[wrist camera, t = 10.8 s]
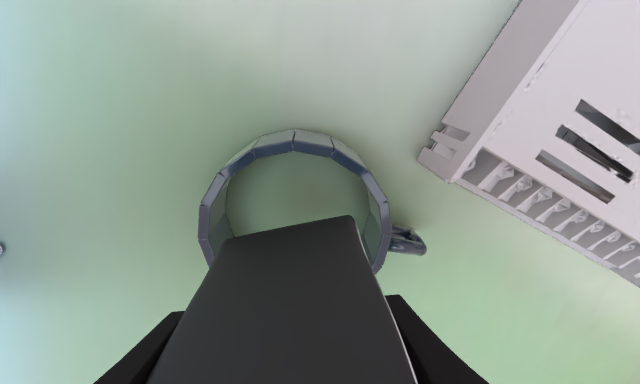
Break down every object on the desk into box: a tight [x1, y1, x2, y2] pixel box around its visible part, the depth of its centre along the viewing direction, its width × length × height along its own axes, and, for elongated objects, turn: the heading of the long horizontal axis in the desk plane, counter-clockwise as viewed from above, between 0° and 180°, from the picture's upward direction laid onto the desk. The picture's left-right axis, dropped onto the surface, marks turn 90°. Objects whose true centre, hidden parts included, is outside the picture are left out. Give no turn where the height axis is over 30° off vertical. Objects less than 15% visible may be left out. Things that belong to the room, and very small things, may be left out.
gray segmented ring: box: [198, 129, 427, 275], centre depth 19 cm, size 14×11×4 cm
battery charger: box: [145, 215, 418, 384], centre depth 10 cm, size 7×4×11 cm, turn 101°
